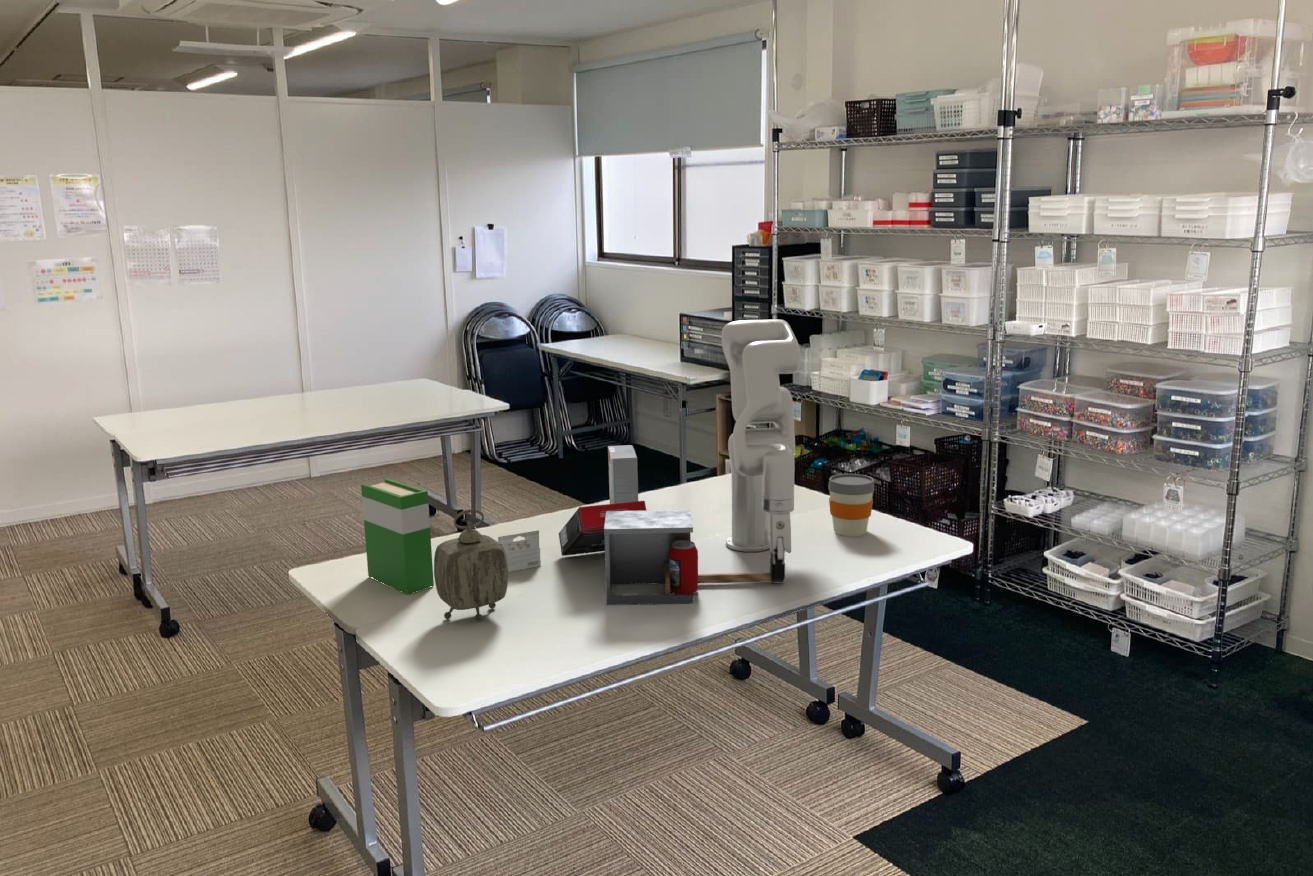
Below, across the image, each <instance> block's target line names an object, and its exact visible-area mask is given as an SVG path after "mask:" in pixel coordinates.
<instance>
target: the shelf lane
mask: <svg viewBox="0 0 1313 876" xmlns="http://www.w3.org/2000/svg"><path fill="white" fill-rule="evenodd" d="M646 510H647V509H646ZM693 533H694V524H693V519H692V512H691V509H664V510H663V509H658V510H657V509H654V510H652V509H651V510H647V511H606V517H605V526H604V535H605V551H604V561H605V562H604V565H605V567H604V568H605V605H606V606H625V605H627V606H629V605H630V606H631V605H632V606H634V605H636V606H637V605H638V604H640V605H677V604H678V605H679V604H680V605H681V604H682V605H683V604H686V605H687V604H694V602H695V601H694V598H695V597H694V594H674V593H670V594H665V593H664V594H663V593H662V594H661V593H660V594H658V593H656V594H654V593H653V594H651V593H650V594H614V595H613V594H612V590H613V586H617V585H619V586H622V585H623V586H625V585H665V564H668V563H669V550H670V548H671V546H672V543H673V542H675V541H681V540H687V541H691V534H693Z"/></svg>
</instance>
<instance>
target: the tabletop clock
mask: <svg viewBox="0 0 1313 876" xmlns="http://www.w3.org/2000/svg"><path fill="white" fill-rule="evenodd" d="M470 513H477V514H479V515H480V516H481V520H480V521H478V522H477V523H474V524H472V522H471V521H468V522H466V525H463V526H462V525H458V524H457V520H458V518H460V517H461V516H462V515H467V514H470ZM484 520H485V516H484V513H483V512H482V511H481V510H479V509H475V508H471V509H465V510H462V511H460V512H459V513H458V514H456V516H455V517H454V520H453V525H454V527H456V528H457V529H461V530H463V531H461V532H460V534H459V536H458V537H455V538H452V539H449V540H445V541H443V542H441V543H439V544H438V545H437V546H436V549H435V551H434V557H433V558H434V559H433V564H434V565H433V578H434V585H435V589H436V592H437V595H438V596H439V598H440V600H441V601H443V602H444V603H445V604H446V605H448V606H449V607H450V609H449V610H448V611H446V612H445V613H444V614H443V617H444V619H446V620H449V619H451V618H452V613H453V611H454V610H457V611H465V610H472V609H475V612H476V614H475V616H474V619H475V621H477V622H481V621H482V620H483V615H482V614H481V613H480V608H481V607H486V606H488V608H489V609H495V608H496V606H497V604H496V603H498V602H500V601H501V600H503V599H504V598H505V597H506V594H507V590H508V583H509V580H508V579H509V572H508V566H507V558H506V553H505V550H504V548H503V546H502V544H500V543H499V542H498V540H496V539H494V538H492V537H491V536H489V535H486V534H481V532H479V531H478V530H477V529H474V528H476V527H479V526H480V525H481V524H482V523H483V521H484Z"/></svg>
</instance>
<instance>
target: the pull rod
mask: <svg viewBox="0 0 1313 876" xmlns="http://www.w3.org/2000/svg"><path fill="white" fill-rule="evenodd" d="M775 551H777V550H775ZM769 552H770V555H769V557H770V558H769V572H742V573H741V572H736V573H735V572H734V573H733V572H732V573H731V572H730V573H729V572H728V573H698V584H729V583H730V584H733V583H734V584H736V583H771V584H784V583H785V579H784V580H772V579H771V563H773V553H772V552H771V551H769ZM776 556H777V555H775V557H776ZM664 589H665V590H664V591H665V592H664V594H671V591H670V573H669V563H668V564H665V584H664Z"/></svg>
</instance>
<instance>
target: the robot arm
mask: <svg viewBox="0 0 1313 876" xmlns="http://www.w3.org/2000/svg"><path fill="white" fill-rule="evenodd" d="M721 346H722V351H723V354H724V356H725V357H724V358H725V359H726V362H727V365H728V369H729V371H730V372H729V373H730V392H731V393H730V394H731V411H732V416H733V419H734V420H735V421H736V422H735V424H734V427H733V431H732V432H733V433H731V434H730V435H729V438H728V442H727V448H728V454H729V461H730V473H731V536H729V537H727V538H726V540H725V545H726V547H728V548H729V549H732V550H733V551H739V552H747V553H748V552H749V553H751V552H752V553H753V552H754V553H755V552H763V551H767V550H770V551H771V552H772V553H773V563H771V579H772V580H784V581H785V579H786V563H785V562H786V561H785V559H786V558H785V557H786V556H785V555H786V554H785V552H786V553H788V554H791V552H792V526H791V525H792V524H791V513H792V512H794V510H795V464H796V463H795V454H796V437H795V417H794V416H795V414H794V412H795V411H794V403H793V402H794V401H793V396H792V394H791V392H790V390H788V388H786V387H785V386H781V385H780V384H781V383H780V375H789V374H790V375H791V374H795V373H797V372H799V370H800V368H801V364H802V353H801V348H800V344H799V342H798V339H797V338H796V336H795V333H794V331H793V329H792V328H791V326H790V324H789V323H788V322H787V321H786V320H784V319H777V318H776V319H775V318H774V319H745V320H744V319H742V320H735V321H730V322H728V323H726V324H725V325H723V327H722V330H721ZM768 423H769V424H773V425H774V426H775V427H765V428H764V427H763V428H761V427H760V428H747V427H748V425H749V424H750V425H751V424H768ZM766 549H767V550H766ZM775 550H777V551H775ZM770 551H769V552H770ZM775 555H777V556H776V557H775Z"/></svg>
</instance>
